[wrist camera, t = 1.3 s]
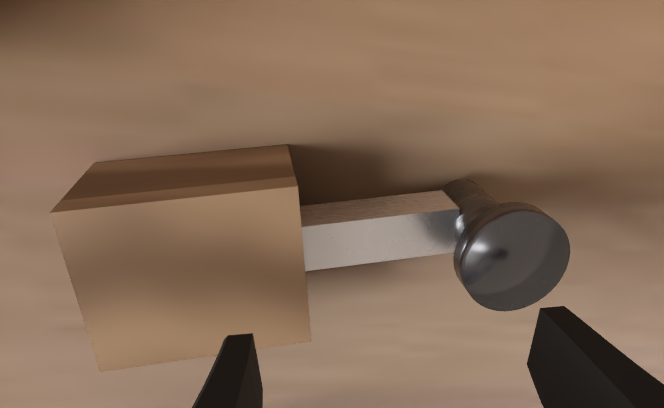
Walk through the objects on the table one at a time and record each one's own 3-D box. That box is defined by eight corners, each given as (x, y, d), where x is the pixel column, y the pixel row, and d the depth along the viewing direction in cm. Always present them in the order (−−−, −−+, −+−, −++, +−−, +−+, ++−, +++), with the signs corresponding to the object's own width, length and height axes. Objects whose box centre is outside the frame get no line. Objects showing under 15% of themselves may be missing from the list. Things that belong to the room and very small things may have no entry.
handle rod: (495, 237, 24) (561, 303, 19) (117, 284, 22) (78, 373, 17) (503, 158, 22) (577, 207, 17) (94, 201, 20) (43, 271, 15)
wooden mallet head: (299, 274, 24) (311, 341, 19) (129, 296, 23) (99, 371, 18) (287, 144, 21) (297, 186, 17) (93, 163, 20) (49, 213, 16)
